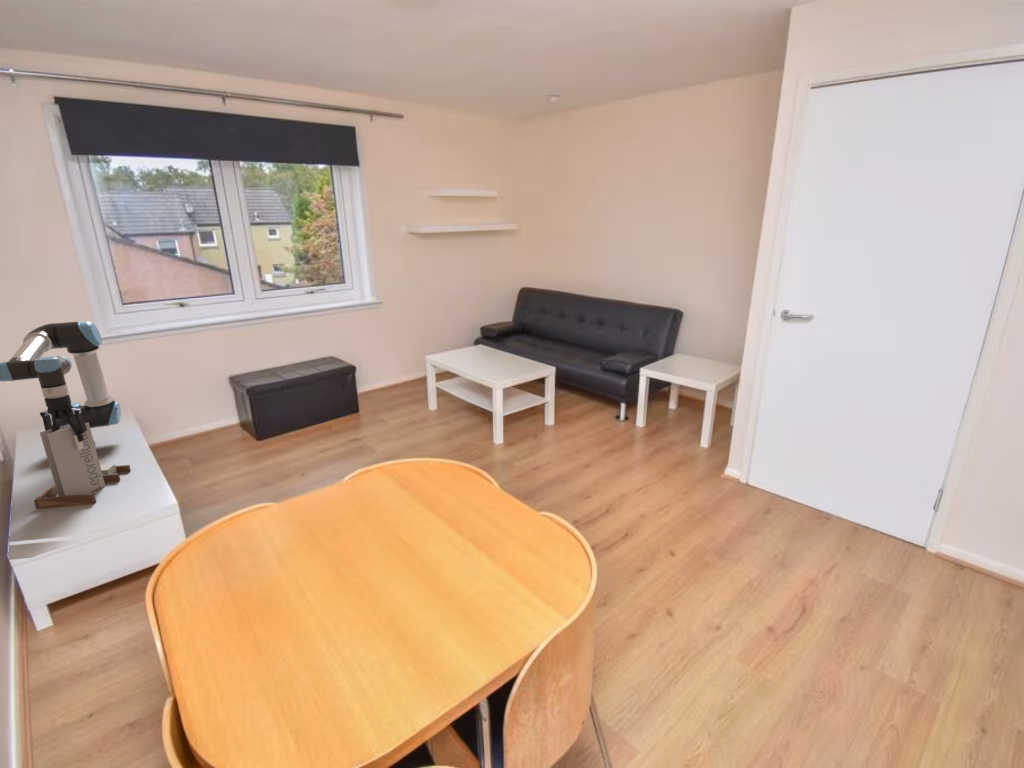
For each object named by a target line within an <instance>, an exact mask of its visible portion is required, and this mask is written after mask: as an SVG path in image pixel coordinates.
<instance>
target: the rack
mask: <svg viewBox="0 0 1024 768" xmlns="http://www.w3.org/2000/svg"><path fill="white" fill-rule="evenodd" d="M115 467H116V471H117V474H105V475H103V479H104V483H117V482H121V477H120V476H121V475H120V473H130V472H131V471H132V470H131V465H130V464H123V465H115ZM57 494H58V493H57V490H56V486H55V484H54V485H53V486H52V487H50V488H49V489H47V490H45V491H44V492H43V493H41V494H40V495H38V497H36V498H34V499H33V503H34V506H35V509H36V510H40V509H50V508H51V509H52V508H60V507H71V506H72V507H74V506H83V505H84V506H85V505H93V504H94V505H95V504H96V503H97V499H96V496H95V493H88V494H81V495H70V496H58V495H57Z"/></svg>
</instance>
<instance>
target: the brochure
mask: <svg viewBox="0 0 1024 768" xmlns="http://www.w3.org/2000/svg"><path fill="white" fill-rule="evenodd" d="M85 425H86V428H87V431H85V432H84V433H82V434H83V438H84V440H83V441H82V442H83V446H84V448H83V449H81V450H78V449H77V445H76V442H75V438H74V435H75V432H74V431H73V429H72V428H71V426H70V425H69V424H67V425H64V426H60V429H59V430H57V431H54V432H52V429H50V430H47V431H45V430H44V431H41V432H39V435H40V438H41V441H42V445H43V449H44V452H45V455H46V458H47V463H48V465H49V469H50V472H51V475H52V479H53V482H54V485H55V486H56V490H57V493H58V495H57V497H58V496H70V495H81V494H91V493H92V492H95V491H98V490H100V489H102V488H104V487H106V484H105V483H104V479H103V475H102V471H101V467H100V465H101V464H100V461H99V456H98V453H97V448H96V445H95V444H96V443H95V444H94V441H95V440H94V438H93V434H92V428H90V425H89V422H88V423H85ZM93 440H94V441H93ZM97 489H98V490H97ZM90 492H91V493H90Z"/></svg>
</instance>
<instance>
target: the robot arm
mask: <svg viewBox="0 0 1024 768" xmlns="http://www.w3.org/2000/svg"><path fill="white" fill-rule="evenodd" d="M102 341H103V340H102V335H101V333H100V331H99V329H98V327H97V325H95V323H93V322H92V321H87V320H86V321H81V320H79V321H69V322H67V321H66V322H54V323H47V324H43V325H41V326H38V327H36V328H34V329H32V330H30V332H29V333H27V334H26V335H25V337H23V341H22V343H23V344H22V345H20V347H19V348H18V349H17V350H16V351H15V353H14V354H13V356H11V358H10V359H9V360H8V361H2V362H0V382H15V381H23V380H24V381H25V380H34V379H38V382H39V385H40V388H41V391H42V395H43V398H44V402H45V407H46V408H47V410H44V411H41V412H39V415H40V417H41V418H42V422H43V425H44V431H47V430H50V429H52V432H54V431H57V430H59V429H60V426H64V425H67V424H69V425H70V426H71V428H72V429H73V431H74V432H75V435H74V438H75V442H76V445H77V449H78V450H81V449H83V448H84V446H83V442H82V441H83V440H84V438H83V434H82V433H84V432H85V431H87V428H86V425H85V423H88V422H89V425H90V429H95V428H102V427H110V426H113V425H114V426H115V425H118V424H119V422H120V421H121V417H122V416H121V415H122V414H121V413H122V412H121V411H122V410H121V403H120V401H117V400H115V399H114V397H113V396H110V395H109V391H108V388H107V385H106V381H105V378H104V374H103V370H102V368H101V363H100V361H99V357H98V353H97V351H98V350H99V349H100V345H102ZM55 349H66V350H67V353H69V355H72V356H73V358H74V359H73V360H74V362H75V365H76V368H77V372H78V376H79V378H80V381H81V384H82V388H83V391H84V394H85V397H86V400H85V401H84V403H83V405H81V404H80V402H72V400H71V395H70V394H69V389H68V386H67V382H66V379H65V375H66V374H68V373H69V372H70V371H71V370H72V366H73V365H72V362H71V360H70V358H68V357H66V356H63V355H55V356H54V355H53V356H52V355H51V356H43V355H44V354H45V353H47V352H49V351H50V350H55ZM93 441H94V444H95V446H96V441H95V439H93Z"/></svg>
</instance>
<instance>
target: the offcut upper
mask: <svg viewBox="0 0 1024 768" xmlns="http://www.w3.org/2000/svg"><path fill="white" fill-rule="evenodd" d="M115 466H116V464H114V463H113V464H100V467H101V471H102V475H105V474H112V473H114V472H115V471H116V467H115Z"/></svg>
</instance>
